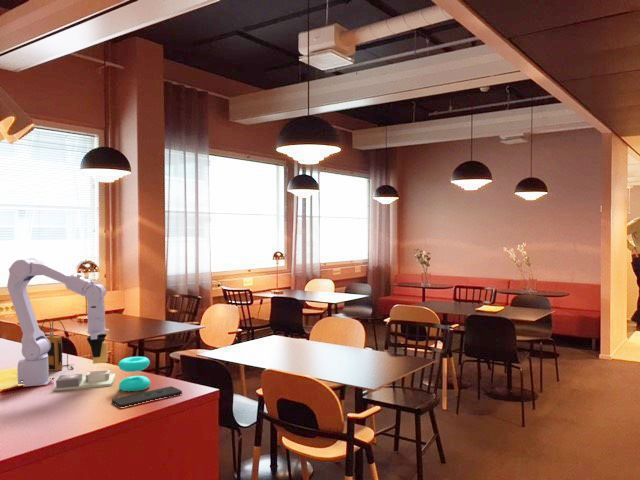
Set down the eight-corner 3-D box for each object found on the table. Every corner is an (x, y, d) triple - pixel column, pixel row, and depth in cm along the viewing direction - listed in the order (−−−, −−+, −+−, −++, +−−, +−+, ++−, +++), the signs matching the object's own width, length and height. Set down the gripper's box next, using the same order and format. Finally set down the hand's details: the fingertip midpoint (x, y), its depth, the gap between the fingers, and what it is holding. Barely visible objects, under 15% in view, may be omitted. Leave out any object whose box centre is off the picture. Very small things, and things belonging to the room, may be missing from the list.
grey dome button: (56, 388, 182) (56, 380, 182) (60, 382, 189) (60, 375, 189) (78, 386, 184) (78, 378, 184) (82, 380, 191) (82, 373, 191)
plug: (92, 363, 192) (92, 343, 192) (93, 361, 195) (93, 342, 194) (106, 362, 193) (106, 343, 193) (107, 360, 196) (107, 341, 196)
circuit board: (54, 390, 182) (54, 388, 182) (63, 379, 196) (63, 377, 196) (111, 385, 187) (111, 383, 187) (116, 375, 200) (116, 373, 200)
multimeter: (84, 365, 216) (82, 315, 216) (64, 372, 207) (63, 319, 206) (55, 363, 221) (53, 314, 221) (35, 369, 212) (33, 318, 211)
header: (86, 381, 190) (85, 375, 190) (88, 377, 196) (88, 371, 196) (108, 379, 192) (108, 373, 192) (110, 375, 198) (110, 369, 198)
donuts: (130, 364, 176) (112, 360, 182) (131, 394, 176) (112, 390, 182) (155, 357, 184) (137, 354, 190) (156, 387, 184) (137, 382, 190)
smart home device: (182, 390, 175) (121, 404, 162) (183, 396, 175) (121, 410, 162) (171, 385, 181) (111, 398, 168) (171, 390, 181) (111, 404, 168)
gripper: (105, 320, 187) (106, 359, 187) (110, 314, 201) (111, 350, 201) (83, 321, 185) (84, 361, 186) (90, 315, 199) (91, 352, 200)
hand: (97, 355), depth 193 cm, fingers closed on plug, 3 cm apart
